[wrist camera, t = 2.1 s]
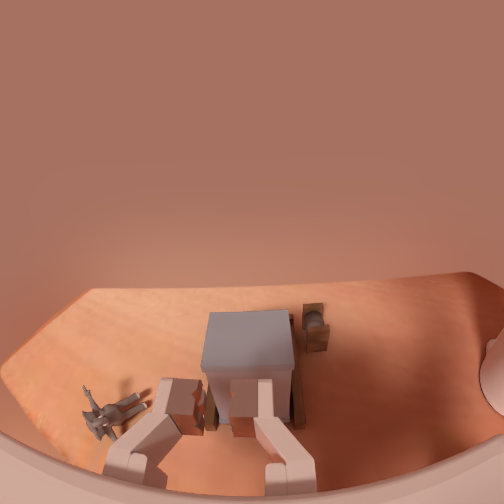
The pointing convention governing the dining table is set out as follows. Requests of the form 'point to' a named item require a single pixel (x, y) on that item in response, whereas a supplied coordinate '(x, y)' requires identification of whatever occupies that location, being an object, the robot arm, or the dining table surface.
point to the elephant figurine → (109, 415)
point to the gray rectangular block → (249, 355)
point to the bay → (314, 343)
